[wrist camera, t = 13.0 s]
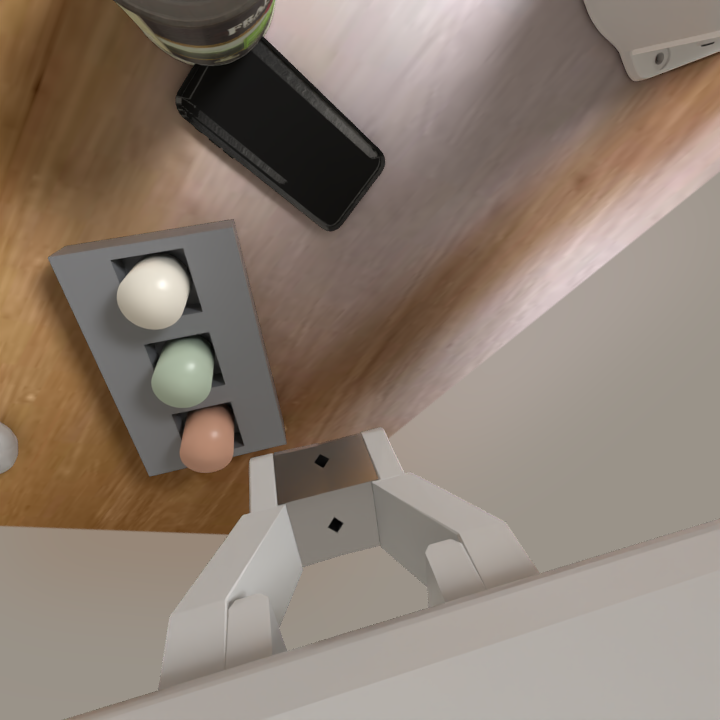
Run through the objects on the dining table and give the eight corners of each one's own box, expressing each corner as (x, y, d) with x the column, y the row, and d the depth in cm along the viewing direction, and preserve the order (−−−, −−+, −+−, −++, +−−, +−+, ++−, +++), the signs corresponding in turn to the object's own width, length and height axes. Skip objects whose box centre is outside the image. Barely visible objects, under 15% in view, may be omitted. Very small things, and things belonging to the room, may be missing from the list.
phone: (230, 4, 30) (390, 160, 36) (231, 8, 31) (387, 159, 37) (168, 107, 31) (332, 237, 38) (170, 108, 32) (330, 235, 39)
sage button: (207, 328, 38) (202, 353, 34) (220, 372, 40) (217, 401, 36) (154, 338, 38) (142, 365, 33) (171, 382, 40) (162, 413, 35)
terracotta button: (228, 395, 42) (226, 426, 37) (239, 432, 44) (239, 465, 39) (180, 406, 41) (172, 438, 37) (194, 443, 43) (188, 477, 39)
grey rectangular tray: (233, 219, 36) (232, 227, 33) (283, 423, 46) (286, 443, 43) (64, 246, 34) (47, 257, 31) (155, 453, 44) (149, 476, 41)
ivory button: (182, 248, 35) (173, 265, 30) (198, 300, 37) (192, 323, 33) (123, 258, 34) (106, 276, 30) (143, 310, 36) (130, 335, 32)
